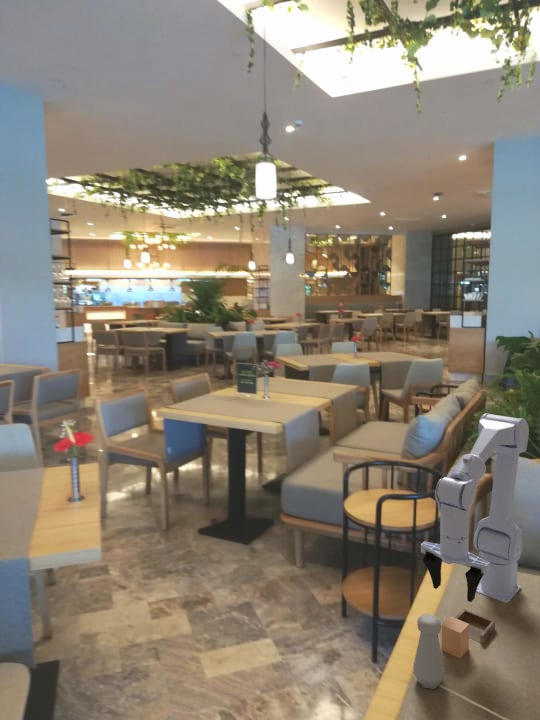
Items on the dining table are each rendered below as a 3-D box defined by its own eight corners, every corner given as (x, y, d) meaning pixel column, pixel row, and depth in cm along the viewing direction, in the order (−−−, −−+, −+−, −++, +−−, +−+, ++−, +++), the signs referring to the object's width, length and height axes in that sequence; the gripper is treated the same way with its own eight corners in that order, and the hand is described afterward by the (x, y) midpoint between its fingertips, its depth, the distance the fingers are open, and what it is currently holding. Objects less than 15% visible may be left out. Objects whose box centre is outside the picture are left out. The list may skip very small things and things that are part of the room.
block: (450, 642, 113) (450, 616, 112) (468, 650, 110) (469, 623, 109) (441, 651, 110) (441, 624, 109) (460, 660, 107) (460, 633, 107)
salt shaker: (446, 694, 98) (447, 629, 97) (414, 690, 100) (414, 626, 98) (442, 672, 104) (443, 610, 102) (412, 669, 105) (412, 608, 104)
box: (463, 617, 121) (463, 608, 121) (494, 630, 116) (494, 621, 116) (450, 631, 116) (450, 622, 116) (482, 645, 112) (482, 635, 111)
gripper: (414, 530, 115) (414, 588, 117) (480, 551, 105) (479, 614, 107) (429, 519, 120) (429, 575, 122) (494, 538, 110) (493, 599, 112)
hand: (453, 592), depth 115 cm, fingers open, 7 cm apart
